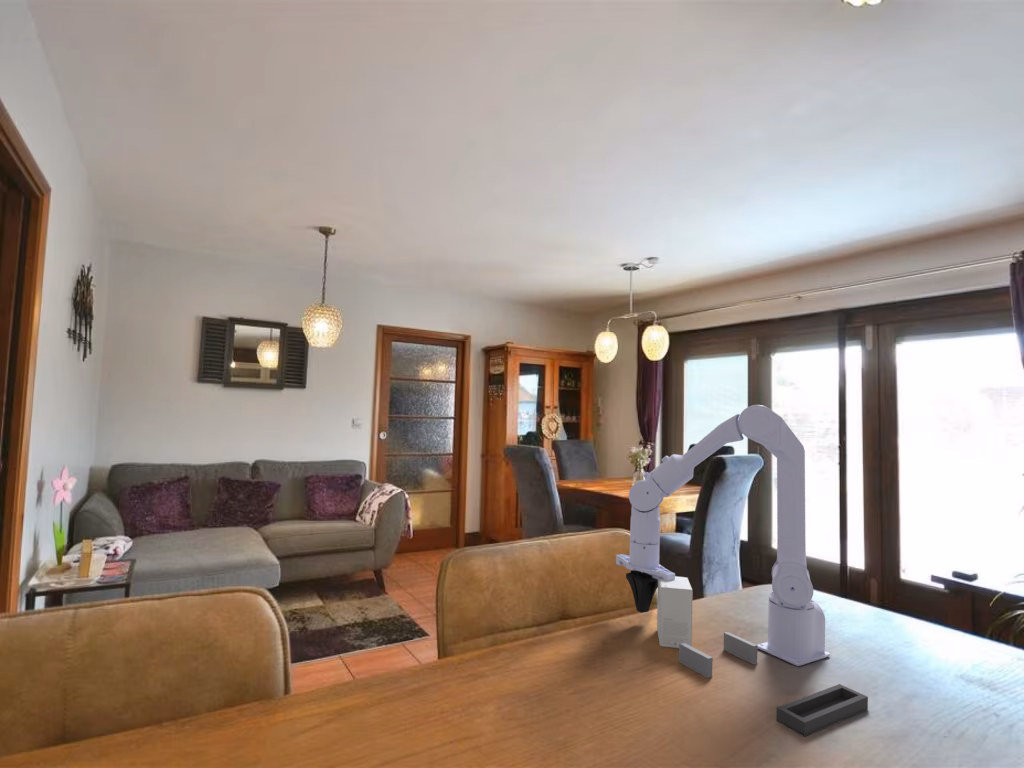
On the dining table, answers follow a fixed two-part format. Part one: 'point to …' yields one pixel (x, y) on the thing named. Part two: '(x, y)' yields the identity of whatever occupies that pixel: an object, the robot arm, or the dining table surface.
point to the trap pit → (821, 709)
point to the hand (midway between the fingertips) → (642, 611)
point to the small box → (674, 612)
